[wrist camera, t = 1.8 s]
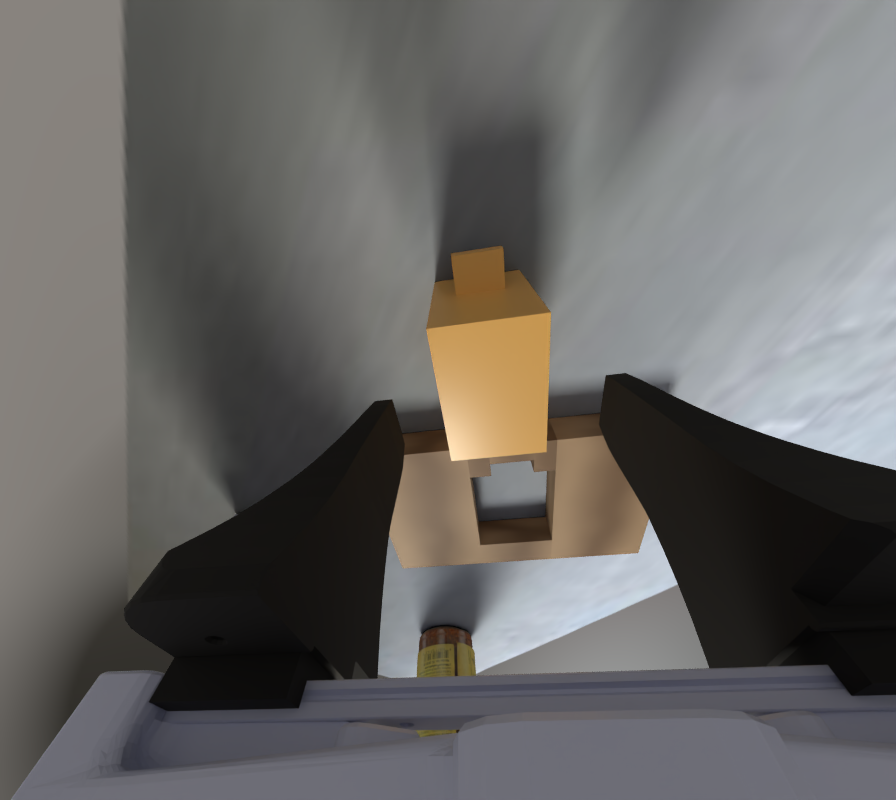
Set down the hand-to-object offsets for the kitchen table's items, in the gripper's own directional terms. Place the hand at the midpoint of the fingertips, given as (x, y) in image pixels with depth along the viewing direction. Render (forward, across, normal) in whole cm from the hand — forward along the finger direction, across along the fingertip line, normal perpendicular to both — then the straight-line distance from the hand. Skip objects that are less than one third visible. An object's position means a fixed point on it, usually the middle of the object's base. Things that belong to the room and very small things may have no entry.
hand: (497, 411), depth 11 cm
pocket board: (+7, -1, +12) cm, 14 cm away
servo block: (+7, 0, 0) cm, 7 cm away
